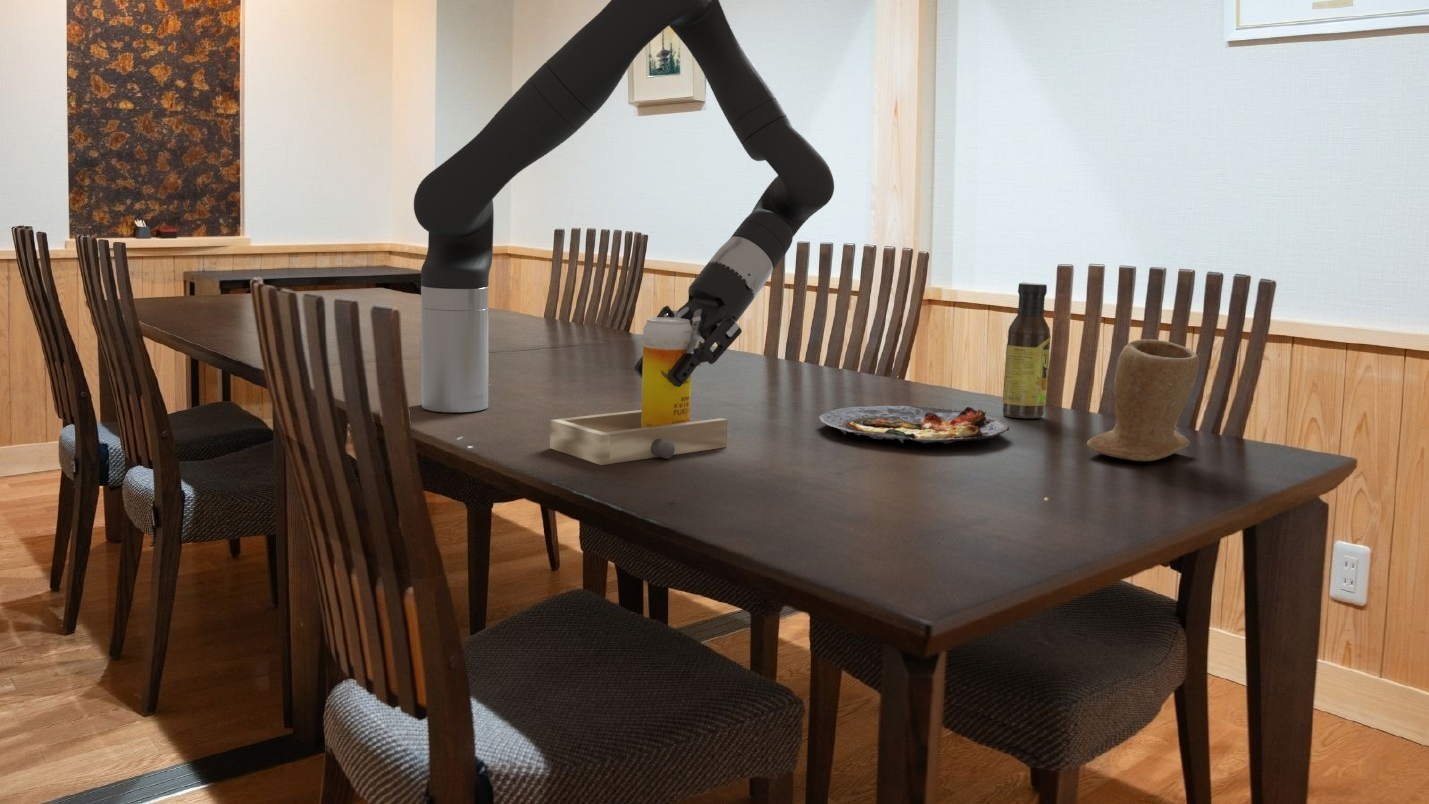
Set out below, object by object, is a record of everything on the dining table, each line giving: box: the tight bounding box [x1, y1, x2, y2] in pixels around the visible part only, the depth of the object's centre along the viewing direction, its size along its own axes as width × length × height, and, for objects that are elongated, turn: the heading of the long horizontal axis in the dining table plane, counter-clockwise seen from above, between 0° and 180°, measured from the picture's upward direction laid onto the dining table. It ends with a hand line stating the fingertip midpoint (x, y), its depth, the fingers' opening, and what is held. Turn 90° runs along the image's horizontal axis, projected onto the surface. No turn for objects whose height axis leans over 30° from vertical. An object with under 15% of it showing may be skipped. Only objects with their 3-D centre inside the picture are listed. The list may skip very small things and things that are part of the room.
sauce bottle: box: [1002, 281, 1052, 419], centre depth 179 cm, size 6×6×20 cm
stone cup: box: [1086, 338, 1200, 462], centre depth 154 cm, size 15×12×15 cm
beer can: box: [640, 317, 692, 428], centre depth 151 cm, size 6×6×15 cm
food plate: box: [818, 404, 1010, 445], centre depth 165 cm, size 25×23×4 cm
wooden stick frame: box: [549, 409, 729, 466], centre depth 149 cm, size 15×19×4 cm
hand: (656, 378), depth 150 cm, fingers closed on beer can, 6 cm apart
